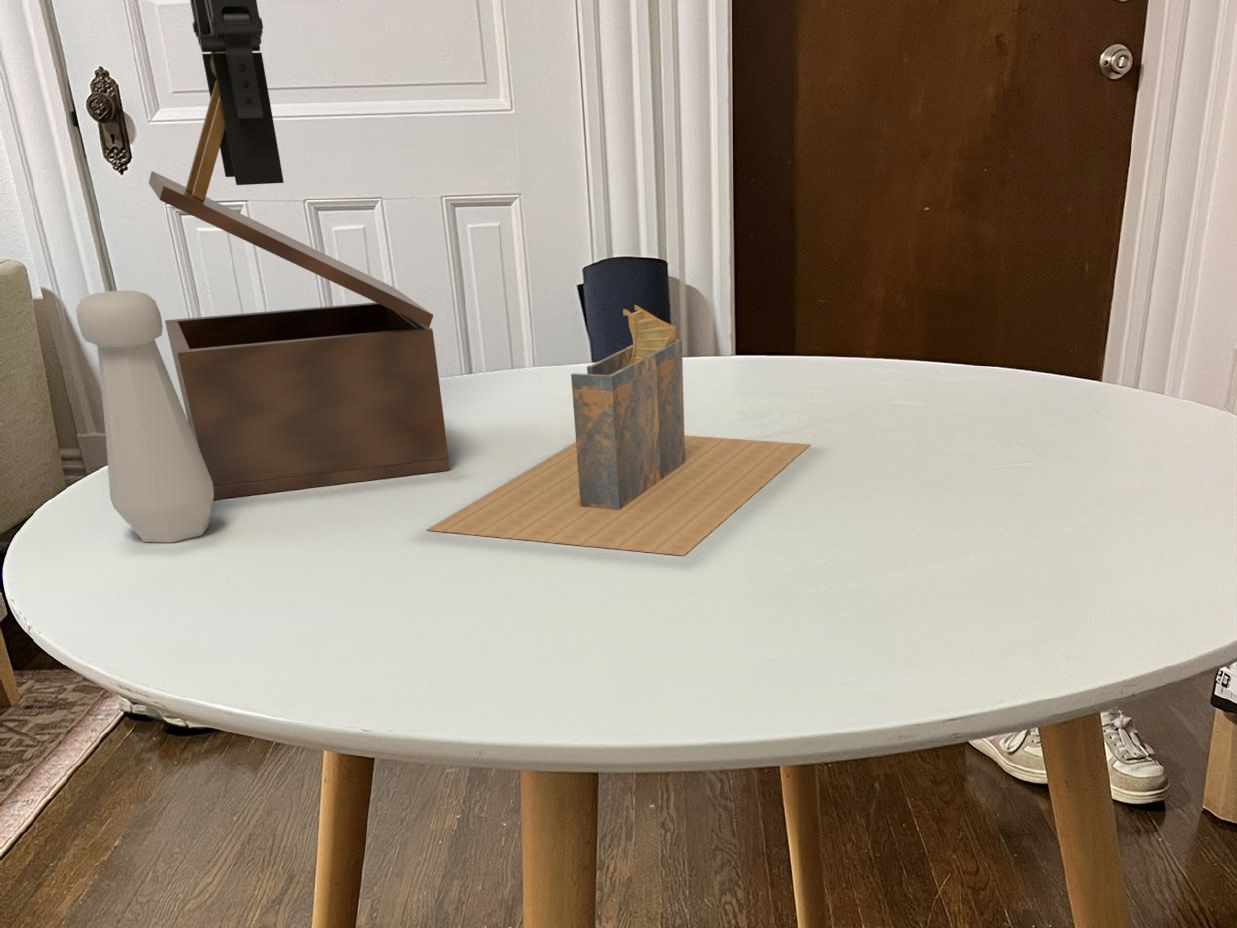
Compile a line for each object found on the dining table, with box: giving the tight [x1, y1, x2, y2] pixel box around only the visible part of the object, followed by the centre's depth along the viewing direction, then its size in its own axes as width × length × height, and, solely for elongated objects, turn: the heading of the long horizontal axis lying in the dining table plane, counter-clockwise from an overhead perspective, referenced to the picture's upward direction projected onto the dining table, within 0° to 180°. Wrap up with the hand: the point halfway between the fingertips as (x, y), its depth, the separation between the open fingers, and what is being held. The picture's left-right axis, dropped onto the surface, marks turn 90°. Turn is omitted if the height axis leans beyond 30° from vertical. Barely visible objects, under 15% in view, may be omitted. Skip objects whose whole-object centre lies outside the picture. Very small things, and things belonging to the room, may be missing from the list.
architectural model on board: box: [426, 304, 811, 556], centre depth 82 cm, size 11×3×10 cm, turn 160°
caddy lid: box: [148, 52, 434, 328], centre depth 82 cm, size 16×13×9 cm
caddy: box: [164, 302, 451, 501], centre depth 88 cm, size 16×13×9 cm
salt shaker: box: [75, 290, 214, 544], centre depth 75 cm, size 6×6×13 cm
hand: (253, 178), depth 81 cm, fingers closed on caddy lid, 6 cm apart
